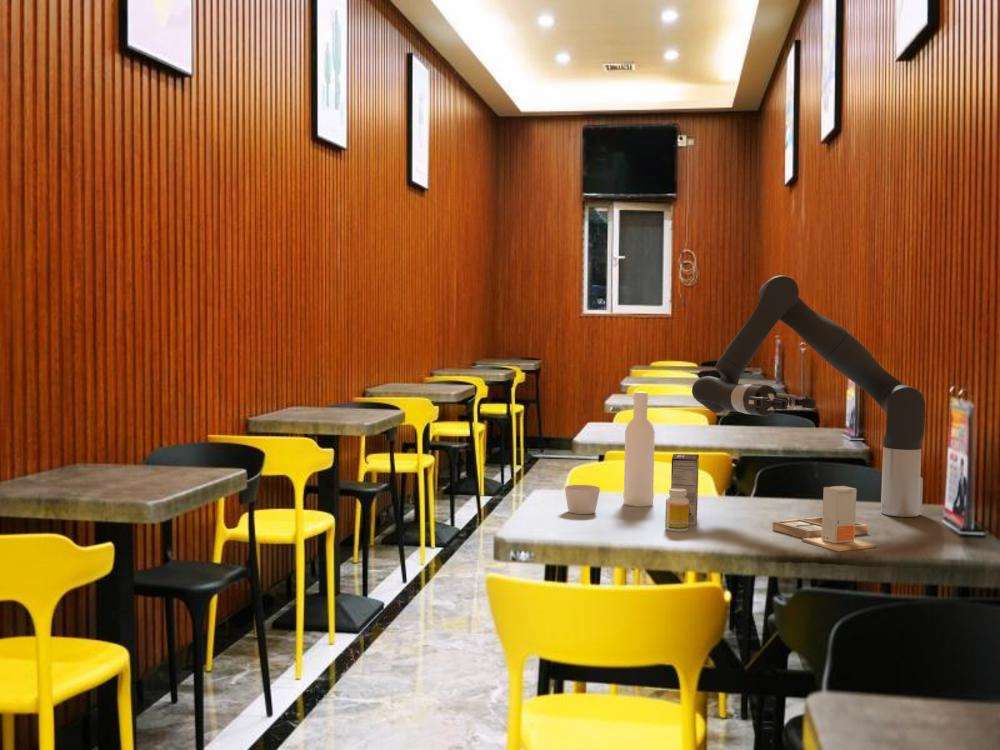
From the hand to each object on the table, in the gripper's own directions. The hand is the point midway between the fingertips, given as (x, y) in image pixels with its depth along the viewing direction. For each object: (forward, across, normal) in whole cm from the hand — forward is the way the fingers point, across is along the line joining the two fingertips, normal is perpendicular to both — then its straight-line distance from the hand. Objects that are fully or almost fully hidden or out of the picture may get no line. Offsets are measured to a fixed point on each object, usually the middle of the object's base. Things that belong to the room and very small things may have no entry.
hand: (800, 404), depth 239 cm
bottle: (-46, -13, +30) cm, 56 cm away
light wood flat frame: (+1, +6, +30) cm, 31 cm away
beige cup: (-42, -33, +30) cm, 61 cm away
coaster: (+13, 0, +30) cm, 33 cm away
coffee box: (-22, -16, +30) cm, 41 cm away
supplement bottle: (-14, -24, +30) cm, 41 cm away
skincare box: (+13, 0, +30) cm, 32 cm away
